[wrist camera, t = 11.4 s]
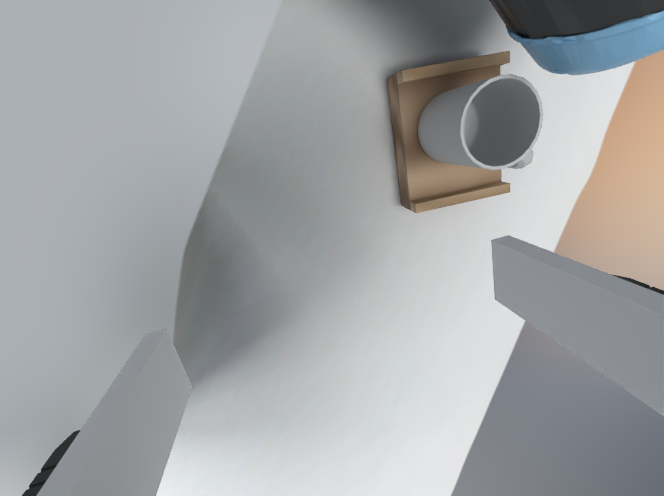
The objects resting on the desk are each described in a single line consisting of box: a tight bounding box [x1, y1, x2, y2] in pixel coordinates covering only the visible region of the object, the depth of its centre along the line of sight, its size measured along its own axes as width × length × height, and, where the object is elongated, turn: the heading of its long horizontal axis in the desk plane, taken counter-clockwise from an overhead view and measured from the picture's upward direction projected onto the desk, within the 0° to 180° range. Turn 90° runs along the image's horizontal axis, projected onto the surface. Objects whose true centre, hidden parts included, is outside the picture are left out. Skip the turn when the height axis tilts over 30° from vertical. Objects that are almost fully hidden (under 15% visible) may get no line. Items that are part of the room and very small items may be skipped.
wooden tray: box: [387, 51, 510, 213], centre depth 36 cm, size 14×11×4 cm
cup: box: [418, 74, 543, 170], centre depth 31 cm, size 7×10×9 cm
